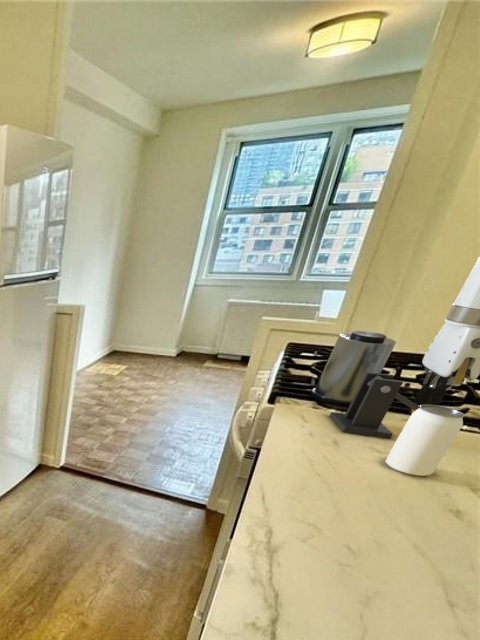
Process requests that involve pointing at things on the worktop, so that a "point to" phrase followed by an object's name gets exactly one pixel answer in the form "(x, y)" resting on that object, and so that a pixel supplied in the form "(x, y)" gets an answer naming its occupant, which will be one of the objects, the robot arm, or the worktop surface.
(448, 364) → the robot arm
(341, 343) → the kettle
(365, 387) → the switch bracket
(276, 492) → the worktop surface
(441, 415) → the can
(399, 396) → the switch
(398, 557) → the worktop surface
